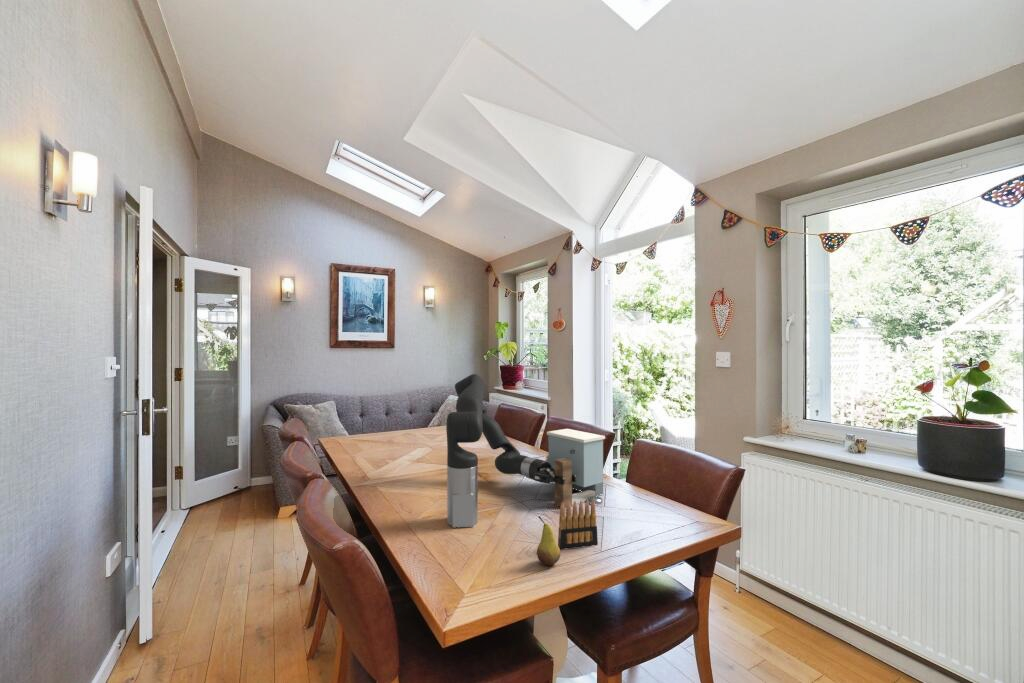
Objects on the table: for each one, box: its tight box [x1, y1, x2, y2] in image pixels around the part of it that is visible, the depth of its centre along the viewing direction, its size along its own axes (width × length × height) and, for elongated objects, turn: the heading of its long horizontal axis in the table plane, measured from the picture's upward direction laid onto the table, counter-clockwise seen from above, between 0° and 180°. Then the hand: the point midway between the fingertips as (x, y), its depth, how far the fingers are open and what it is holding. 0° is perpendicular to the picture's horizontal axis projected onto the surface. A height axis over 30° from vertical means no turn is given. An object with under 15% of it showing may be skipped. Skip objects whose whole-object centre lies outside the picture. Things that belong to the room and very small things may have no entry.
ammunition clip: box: [557, 500, 599, 550], centre depth 123 cm, size 11×2×12 cm, turn 104°
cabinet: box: [546, 428, 606, 497], centre depth 169 cm, size 19×12×21 cm, turn 38°
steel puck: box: [588, 496, 603, 505], centre depth 157 cm, size 5×5×2 cm
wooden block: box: [554, 459, 595, 509], centre depth 158 cm, size 4×16×15 cm, turn 128°
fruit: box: [536, 515, 561, 566], centre depth 113 cm, size 6×6×12 cm
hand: (569, 480), depth 152 cm, fingers open, 4 cm apart
